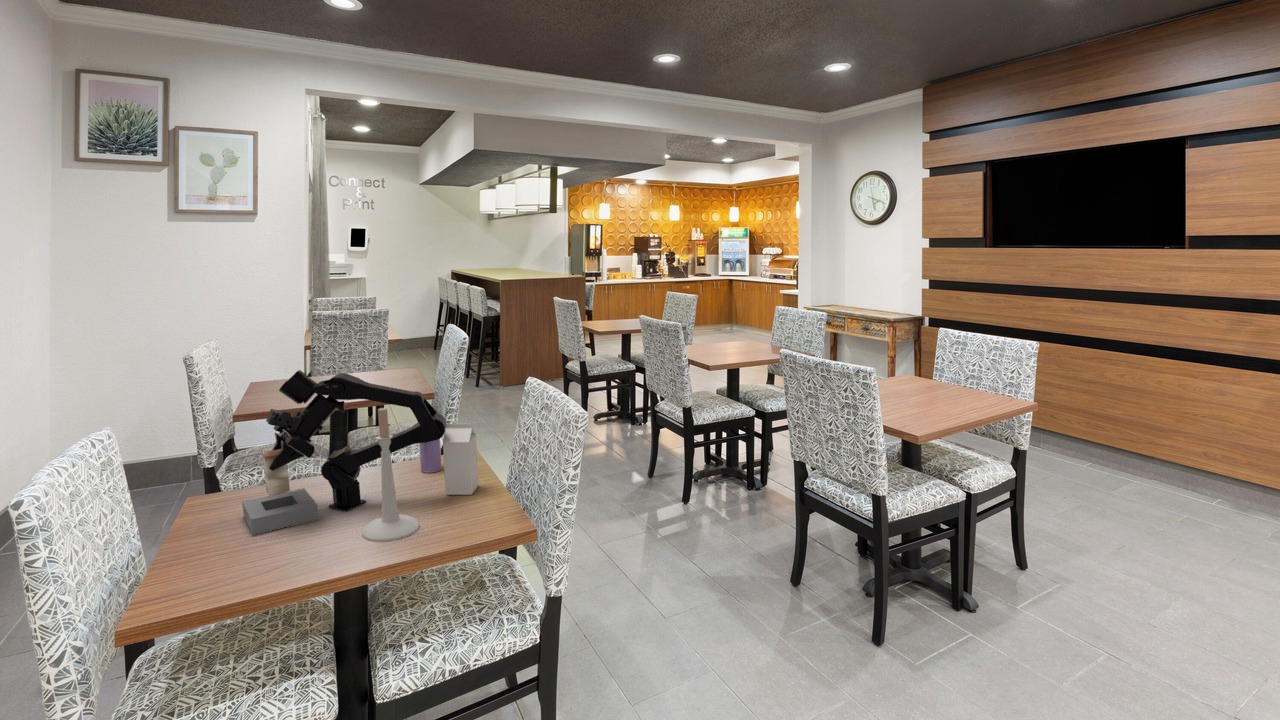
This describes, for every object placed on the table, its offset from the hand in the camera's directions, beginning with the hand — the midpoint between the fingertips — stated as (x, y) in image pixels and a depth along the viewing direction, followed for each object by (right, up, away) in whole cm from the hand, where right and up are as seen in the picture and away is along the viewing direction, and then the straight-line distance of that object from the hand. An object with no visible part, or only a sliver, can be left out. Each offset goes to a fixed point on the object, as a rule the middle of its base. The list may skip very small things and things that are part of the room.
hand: (269, 467), depth 155 cm
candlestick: (+31, -14, -4) cm, 35 cm away
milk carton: (+41, -10, +21) cm, 47 cm away
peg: (+1, -6, +2) cm, 7 cm away
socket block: (+1, -13, +3) cm, 14 cm away
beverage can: (+27, -7, +38) cm, 47 cm away
